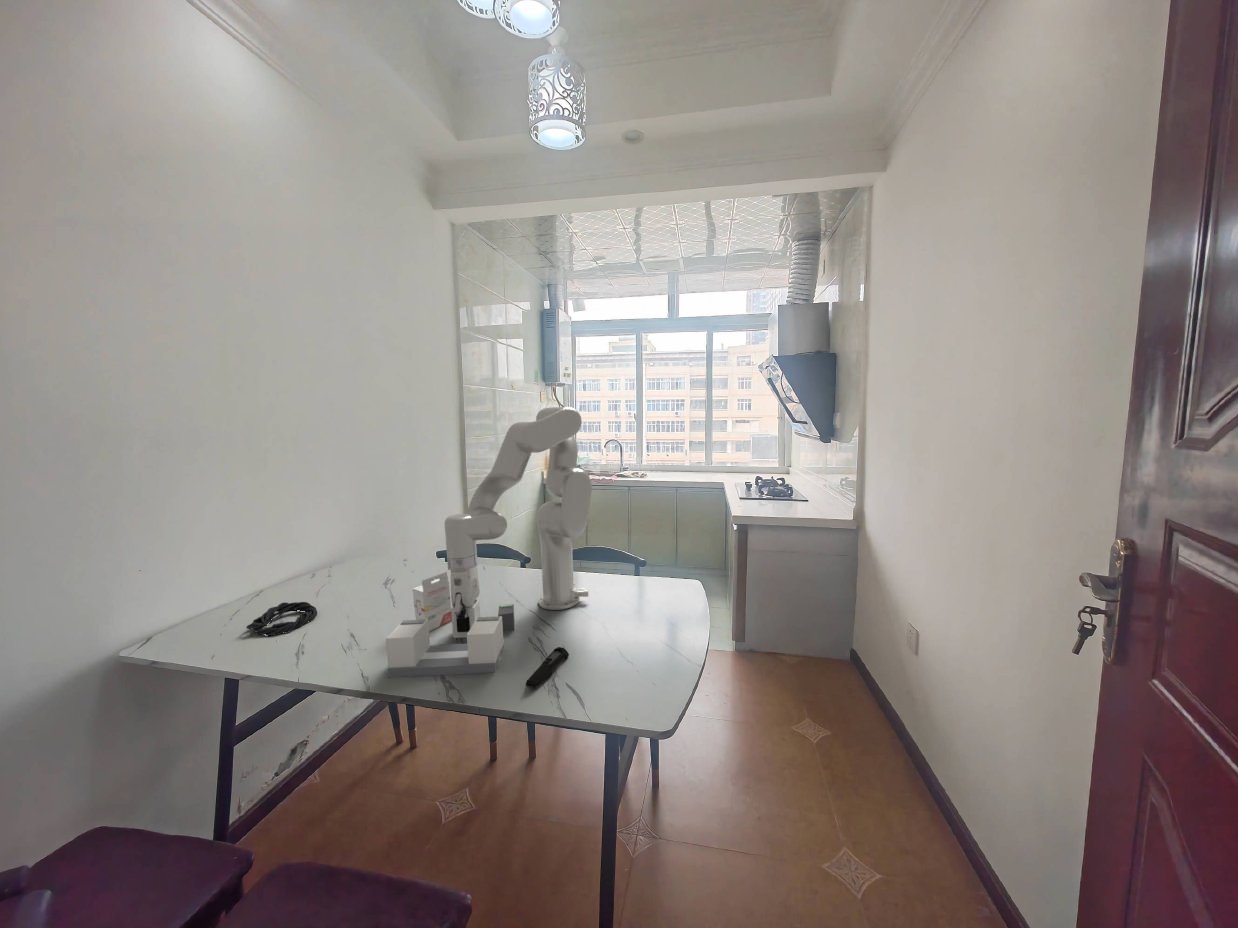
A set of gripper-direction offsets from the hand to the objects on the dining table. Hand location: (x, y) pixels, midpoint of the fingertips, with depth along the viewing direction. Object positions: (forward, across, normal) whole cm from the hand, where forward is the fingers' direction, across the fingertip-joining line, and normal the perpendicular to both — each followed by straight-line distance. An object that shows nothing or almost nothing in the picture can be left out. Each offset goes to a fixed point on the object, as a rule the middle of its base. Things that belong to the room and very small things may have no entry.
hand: (466, 625), depth 124 cm
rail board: (+2, -15, 0) cm, 15 cm away
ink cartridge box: (+2, +6, +11) cm, 13 cm away
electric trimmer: (+3, -21, -24) cm, 32 cm away
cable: (+3, +12, +55) cm, 56 cm away
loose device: (+2, +3, -10) cm, 11 cm away
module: (+2, 0, 0) cm, 2 cm away
